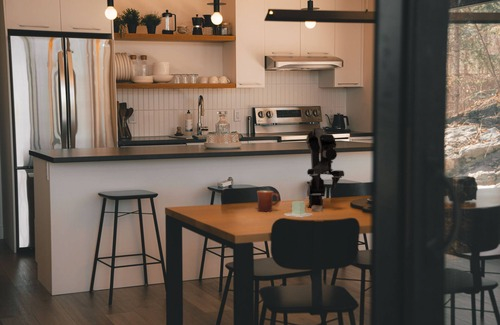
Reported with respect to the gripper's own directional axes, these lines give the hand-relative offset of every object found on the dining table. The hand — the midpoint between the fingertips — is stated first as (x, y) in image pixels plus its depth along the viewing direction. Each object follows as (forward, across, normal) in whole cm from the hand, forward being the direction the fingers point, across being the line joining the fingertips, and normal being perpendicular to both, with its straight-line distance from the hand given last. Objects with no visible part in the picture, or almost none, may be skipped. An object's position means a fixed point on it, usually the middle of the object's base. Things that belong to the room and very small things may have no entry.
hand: (325, 189), depth 359 cm
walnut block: (+12, -6, +2) cm, 14 cm away
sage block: (+11, -6, -16) cm, 20 cm away
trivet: (+12, -6, -16) cm, 20 cm away
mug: (+12, -25, -15) cm, 32 cm away
